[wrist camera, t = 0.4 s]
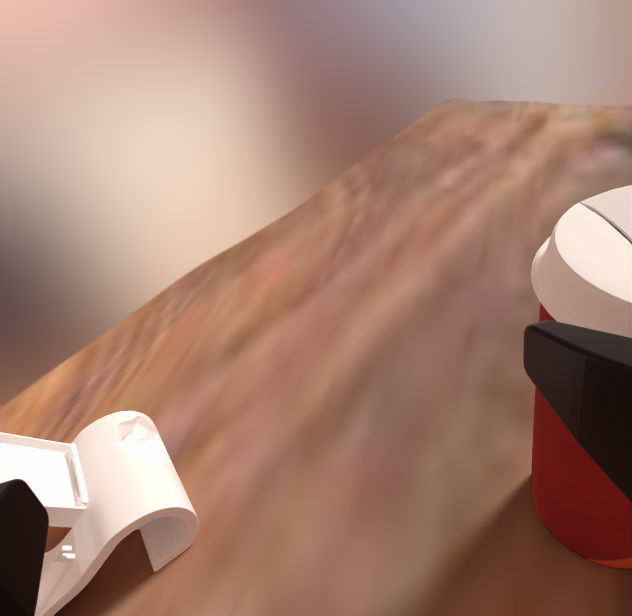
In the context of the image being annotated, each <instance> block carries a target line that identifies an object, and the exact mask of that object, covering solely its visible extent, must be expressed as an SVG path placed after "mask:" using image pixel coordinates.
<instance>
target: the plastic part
mask: <svg viewBox="0 0 632 616" xmlns="http://www.w3.org/2000/svg"><path fill="white" fill-rule="evenodd" d="M13 479H22V480H24V481H25V482H26V483H27V484H28V485H29V487H30V488H31V489H32V491H33V492H34V493H35V495H36V496H37V498H38V499H39V500H40V502H41V503H42V504H43V506H44V507H45V508H46V510H47V513H48V517H49V526H54V527H69V528H72V529H71V530H70V531H69V533H68V534H67V535H66V537H65V538H64V539H63V540H62V541H61V542H60V543H59V544H58V545H57V546H56V547H55V548H53V549H52V550H50V551H48V552H46V553H45V554H44V560H43V567H42V573H41V580H40V587H39V593H38V600H37V606H36V611H35V616H54V615H55V614H56V613H57V612H58V611H59V610H60V609H61V608H62V607H64V606H65V605H66V604H67V603H68V602H69V601H70V600H72V599H73V598H74V597H75V596H76V595H77V594H78V593H79V592H80V591H81V590H82V589H83V588H84V587H85V586H86V585H87V584H88V583H89V582H90V580H91V579H92V578H93V577H94V575H95V574H96V573H97V571H98V570H99V569H100V567H101V566H102V565H103V563H104V562H105V561H106V559H107V558H108V557H109V555H110V554H111V553H112V551H113V550H114V548H115V547H116V546H117V544H118V543H119V542H120V541H121V540H122V539H124V538H125V537H126V536H127V535H129V534H130V533H131V532H133V531H134V530H140V532H141V535H142V538H143V541H144V544H145V547H146V550H147V553H148V556H149V559H150V562H151V565H152V568H153V570H154V572H156V571H158V570H159V569H160V568H162V567H163V566H164V565H166V564H167V563H169V562H170V561H171V560H173V559H174V558H175V557H177V556H178V555H179V554H181V553H182V552H183V551H185V550H186V549H187V548H189V547H190V546H191V544H192V543H193V541H194V540H195V538H196V536H197V534H198V530H199V521H198V518H197V516H196V514H195V511H194V509H193V507H192V505H191V503H190V501H189V499H188V496H187V494H186V492H185V490H184V488H183V486H182V483H181V481H180V479H179V477H178V475H177V473H176V470H175V468H174V466H173V464H172V462H171V460H170V457H169V455H168V453H167V451H166V449H165V447H164V444H163V442H162V440H161V438H160V436H159V433H158V431H157V429H156V427H155V425H154V423H153V421H152V420H151V419H150V418H149V417H148V416H146V415H145V414H142V413H140V412H135V411H121V412H116V413H113V414H110V415H107V416H105V417H103V418H101V419H99V420H97V421H95V422H93V423H92V424H90V425H89V426H87V427H86V428H85V429H83V430H82V431H81V432H80V433H79V434H78V436H77V437H76V438H75V440H74V441H73V442H72V443H71V444H67V443H60V442H54V441H48V440H42V439H36V438H30V437H24V436H19V435H13V434H7V433H1V432H0V483H3V482H6V481H9V480H13Z"/></svg>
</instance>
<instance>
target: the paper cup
mask: <svg viewBox="0 0 632 616" xmlns="http://www.w3.org/2000/svg"><path fill="white" fill-rule="evenodd" d="M531 279H532V284H533V289H534V291H535V293H536V295H537V297H538V299H539V301H540V318H539V322H541V321H545V320H552V321H557V322H561V323H566V324H571V325H575V326H580V327H584V328H589V329H594V330H598V331H603V332H607V333H612V334H617V335H621V336H626V337H630V338H632V185H630V186H626V187H621V188H617V189H613V190H610V191H607V192H604V193H602V194H599V195H596V196H594V197H591V198H589V199H586V200H584V201H581V202H580V203H577V204H576V205H574V206H573V207H572V208H570V209H569V210H568V211H567V212H566V213H565V214H564V215H563V216H562V217H561V218H560V220H559V221H558V222H557V224H556V225H555V227H554V229H553V232H552V235H551V236H550V237H549V238H548V239H547V240H546V241H545V243H544V244H543V245H542V246H541V248H540V249H539V250H538V252H537V253H536V255H535V258H534V260H533V263H532V271H531ZM532 494H533V499H534V503H535V506H536V509H537V511H538V514H539V516H540V517H541V519H542V521H543V522H544V524H545V525H546V527H547V528H548V529H549V530H550V532H551V533H552V534H553V535H554V536H555V537H556V538H557V539H558V540H559V541H560V542H561V543H563V544H564V545H565V546H566V547H568V548H569V549H570V550H572V551H573V552H575V553H577V554H578V555H580V556H582V557H584V558H586V559H588V560H590V561H592V562H595V563H598V564H601V565H604V566H608V567H613V568H621V569H632V503H631V502H630V501H629V500H628V499H627V497H626V496H625V495H624V494H623V493H622V492H621V491H620V490H619V489H618V487H617V486H616V485H615V484H614V483H613V482H612V481H611V480H610V479H609V477H608V476H607V475H606V474H605V473H604V472H603V471H602V470H601V469H600V467H599V466H598V465H597V464H596V463H595V462H594V461H593V460H592V459H591V457H590V456H589V455H588V454H587V453H586V452H585V451H584V449H583V448H582V447H581V446H580V445H579V444H578V443H577V441H576V440H575V439H574V437H573V436H572V435H571V434H570V432H569V431H568V430H567V428H566V427H565V426H564V424H563V423H562V421H561V420H560V419H559V417H558V416H557V415H556V413H555V412H554V410H553V409H552V408H551V406H550V405H549V404H548V402H547V401H546V400H545V398H544V397H543V395H542V394H541V393H540V391H539V390H538V389H537V387H536V388H535V407H534V426H533V447H532Z"/></svg>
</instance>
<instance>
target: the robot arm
mask: <svg viewBox="0 0 632 616" xmlns="http://www.w3.org/2000/svg"><path fill="white" fill-rule="evenodd" d="M524 368H525V371H526V373H527V375H528V376H529V378H530V379H531V380H532V382H533V383H534V385H535V386H536V387H537V389H538V390H539V391H540V393H541V394H542V395H543V397H544V398H545V400H546V401H547V402H548V404H549V405H550V406H551V408H552V409H553V410H554V412H555V413H556V415H557V416H558V417H559V419H560V420H561V421H562V423H563V424H564V426H565V427H566V428H567V430H568V431H569V432H570V434H571V435H572V436H573V437H574V439H575V440H576V441H577V443H578V444H579V445H580V446H581V447H582V448H583V449H584V451H585V452H586V453H587V454H588V455H589V456H590V457H591V459H592V460H593V461H594V462H595V463H596V464H597V465H598V466H599V467H600V469H601V470H602V471H603V472H604V473H605V474H606V475H607V476H608V477H609V479H610V480H611V481H612V482H613V483H614V484H615V485H616V486H617V487H618V489H619V490H620V491H621V492H622V493H623V494H624V495H625V496H626V497H627V499H628V500H629V501H630V502H631V503H632V338H630V337H626V336H621V335H617V334H612V333H607V332H603V331H598V330H594V329H589V328H584V327H580V326H575V325H571V324H566V323H561V322H557V321H552V320H545V321H541V322H538V323H535V324H531V325H529V326H527V327H526V329H525V331H524ZM48 527H49V517H48V513H47V510H46V508H45V507H44V506H43V504H42V503H41V502H40V500H39V499H38V498H37V496H36V495H35V493H34V492H33V491H32V489H31V488H30V487H29V485H28V484H27V483H26V482H25V481H24V480H22V479H13V480H9V481H6V482H3V483H0V616H35V611H36V606H37V600H38V593H39V587H40V580H41V573H42V567H43V560H44V554H45V547H46V541H47V534H48Z"/></svg>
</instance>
